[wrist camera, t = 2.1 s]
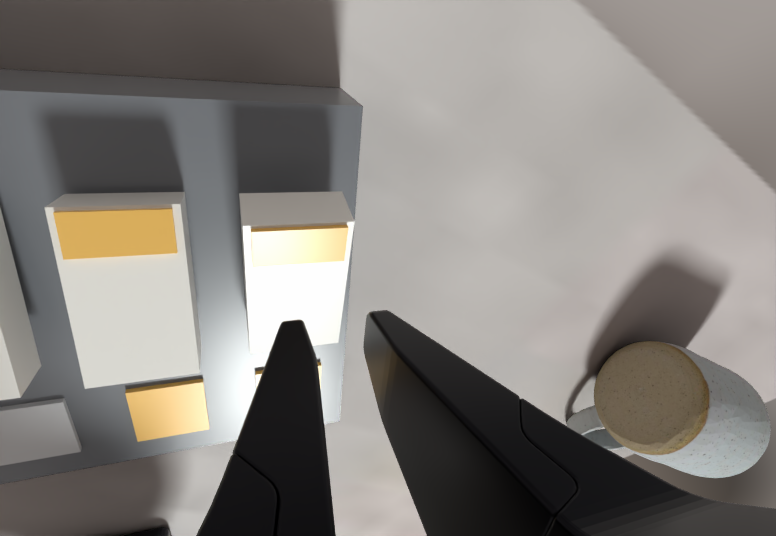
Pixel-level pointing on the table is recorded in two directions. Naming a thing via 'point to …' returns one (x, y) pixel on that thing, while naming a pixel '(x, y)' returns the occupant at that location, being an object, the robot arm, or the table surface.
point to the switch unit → (207, 240)
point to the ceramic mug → (676, 411)
